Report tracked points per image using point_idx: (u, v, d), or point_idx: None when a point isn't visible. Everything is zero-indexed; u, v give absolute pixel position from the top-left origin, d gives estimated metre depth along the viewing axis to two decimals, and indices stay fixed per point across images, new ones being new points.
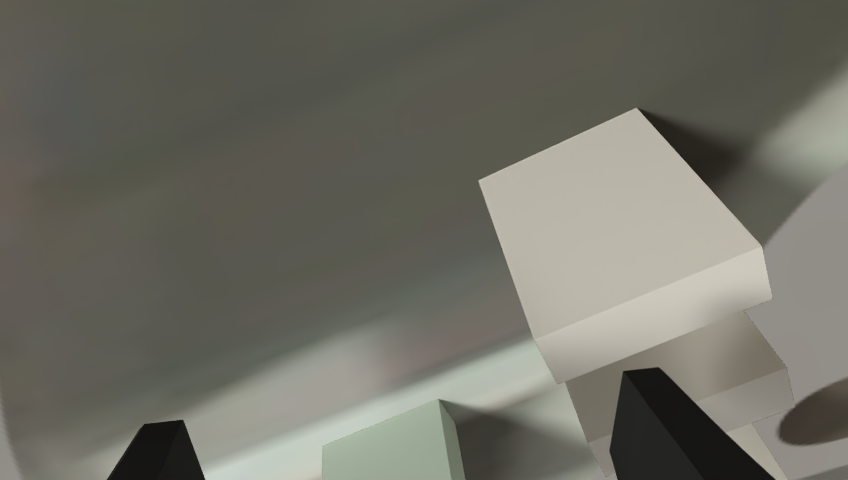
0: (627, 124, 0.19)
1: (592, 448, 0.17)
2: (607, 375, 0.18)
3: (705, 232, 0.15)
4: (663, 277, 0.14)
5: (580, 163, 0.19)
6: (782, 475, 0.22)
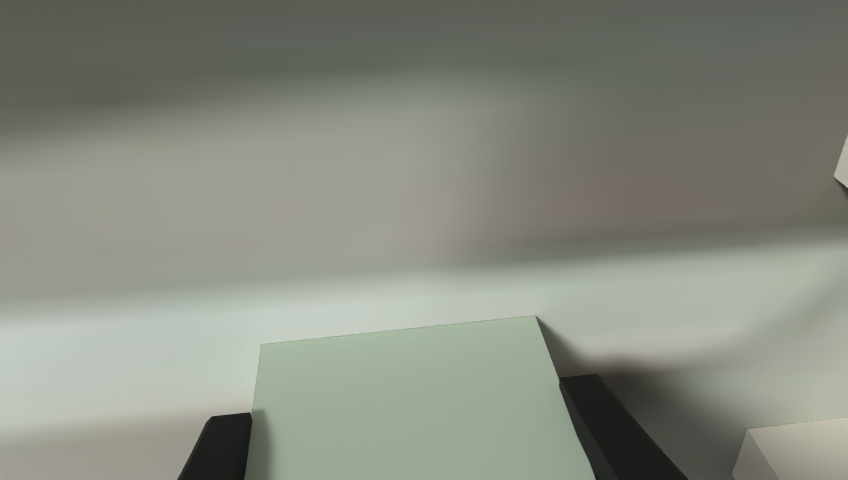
0: None
1: None
2: None
3: None
4: None
5: None
6: None
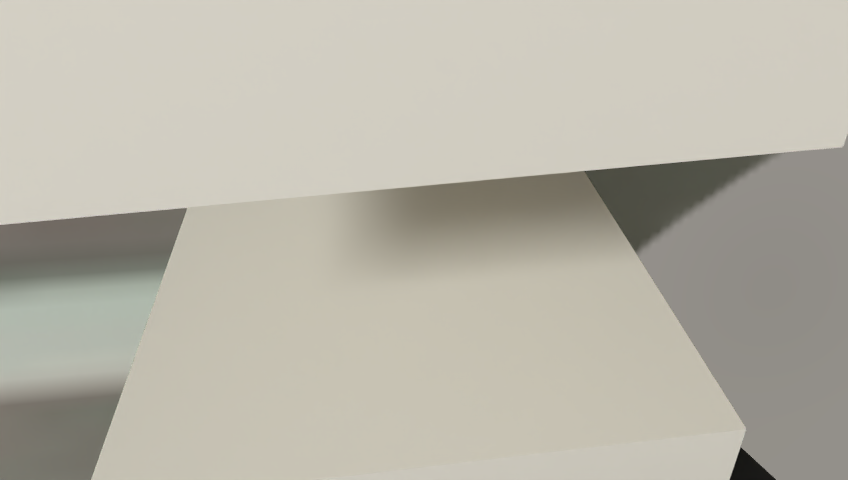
0: None
1: None
2: (259, 330, 0.06)
3: None
4: None
5: None
6: None
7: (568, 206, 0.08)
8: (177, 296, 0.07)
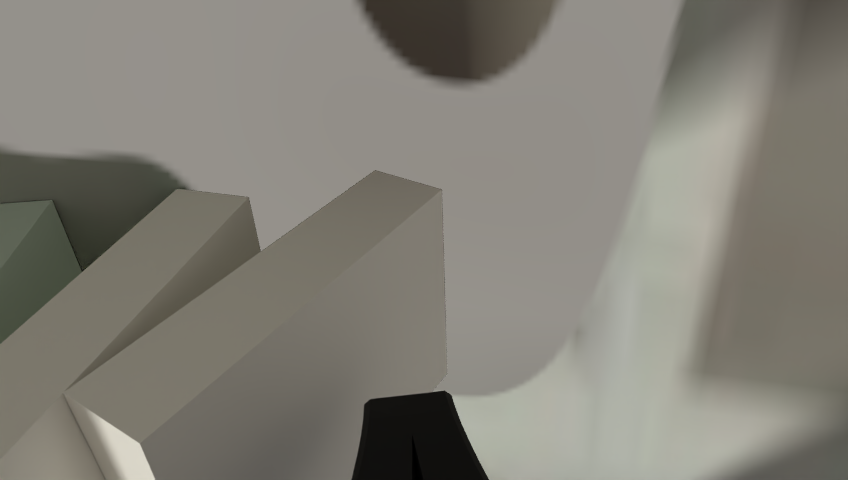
0: None
1: None
2: None
3: None
4: None
5: None
6: None
7: None
8: None
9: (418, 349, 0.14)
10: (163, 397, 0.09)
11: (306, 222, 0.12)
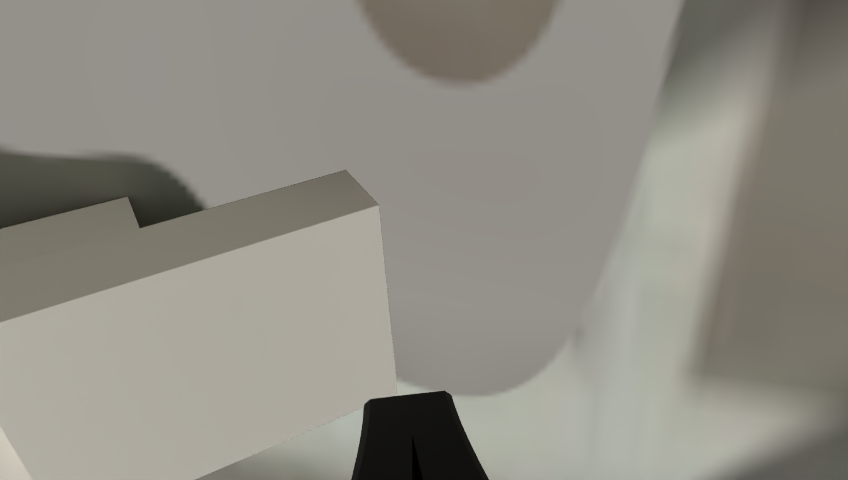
0: None
1: None
2: None
3: None
4: None
5: None
6: None
7: None
8: None
9: (344, 356, 0.14)
10: None
11: (242, 201, 0.13)
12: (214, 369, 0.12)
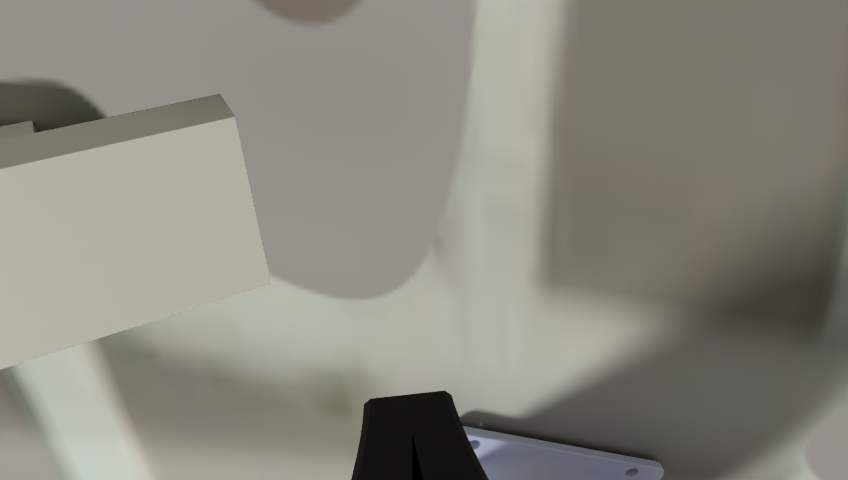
0: None
1: None
2: None
3: None
4: None
5: None
6: None
7: None
8: None
9: (219, 245, 0.17)
10: None
11: (132, 114, 0.16)
12: (105, 244, 0.16)
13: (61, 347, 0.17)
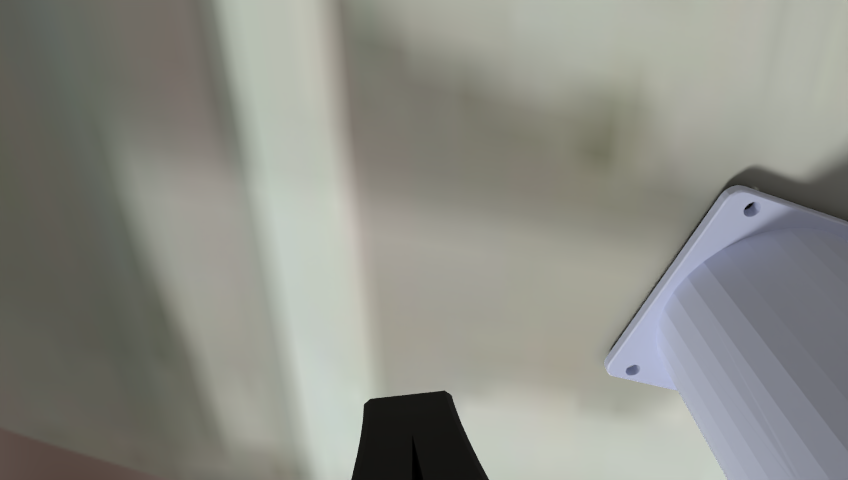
0: None
1: None
2: None
3: None
4: None
5: None
6: None
7: None
8: None
9: None
10: None
11: None
12: None
13: None
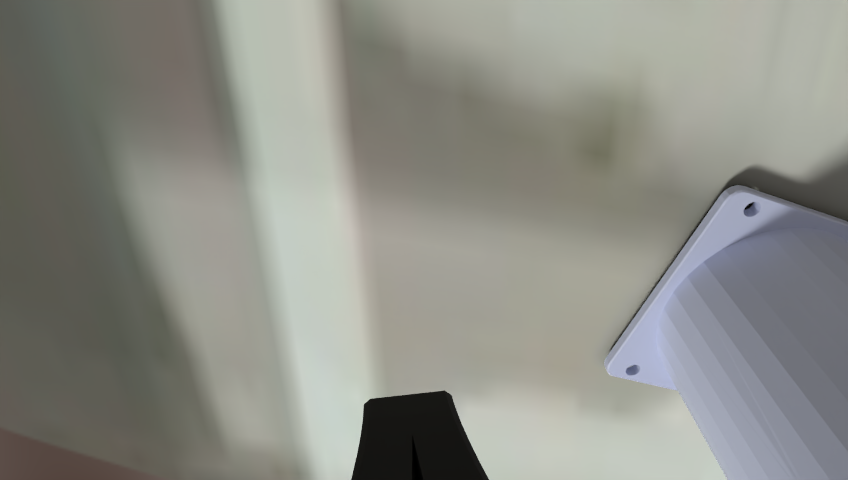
0: None
1: None
2: None
3: None
4: None
5: None
6: None
7: None
8: None
9: None
10: None
11: None
12: None
13: None
